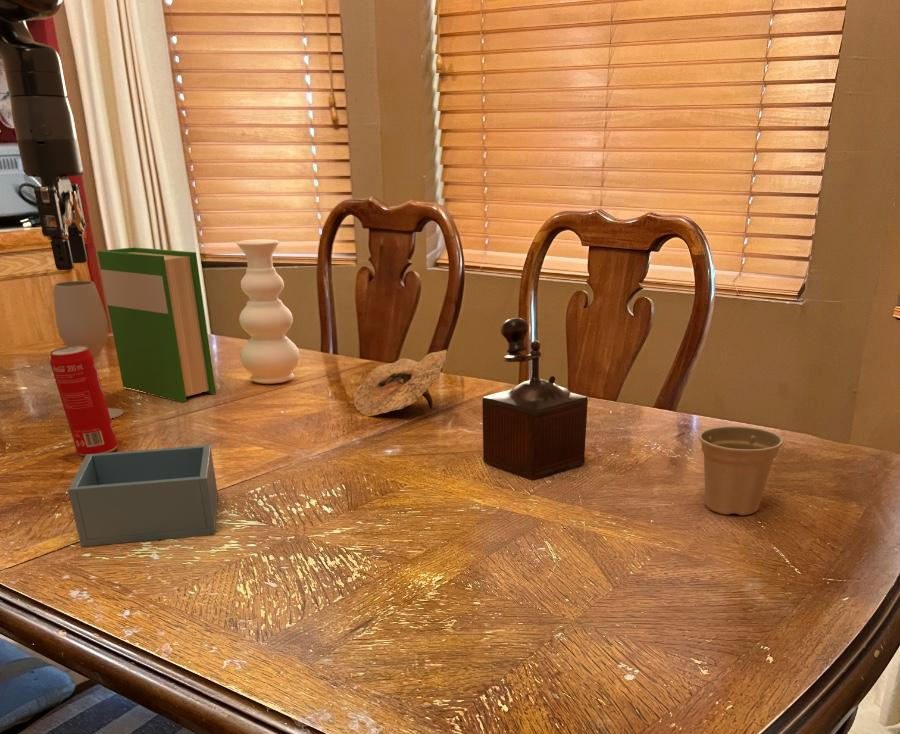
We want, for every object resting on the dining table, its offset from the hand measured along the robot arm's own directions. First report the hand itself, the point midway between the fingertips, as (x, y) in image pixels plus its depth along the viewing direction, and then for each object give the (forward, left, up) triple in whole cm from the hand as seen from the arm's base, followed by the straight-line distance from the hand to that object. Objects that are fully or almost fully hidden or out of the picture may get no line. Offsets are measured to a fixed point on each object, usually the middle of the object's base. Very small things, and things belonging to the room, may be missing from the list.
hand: (72, 266), depth 122 cm
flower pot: (+78, -51, -25) cm, 97 cm away
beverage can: (-1, -8, -25) cm, 26 cm away
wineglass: (-3, +13, -25) cm, 28 cm away
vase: (+26, +30, -25) cm, 47 cm away
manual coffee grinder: (+59, -27, -25) cm, 70 cm away
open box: (+10, -38, -25) cm, 46 cm away
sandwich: (+46, +4, -25) cm, 53 cm away
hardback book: (+7, +27, -25) cm, 38 cm away
